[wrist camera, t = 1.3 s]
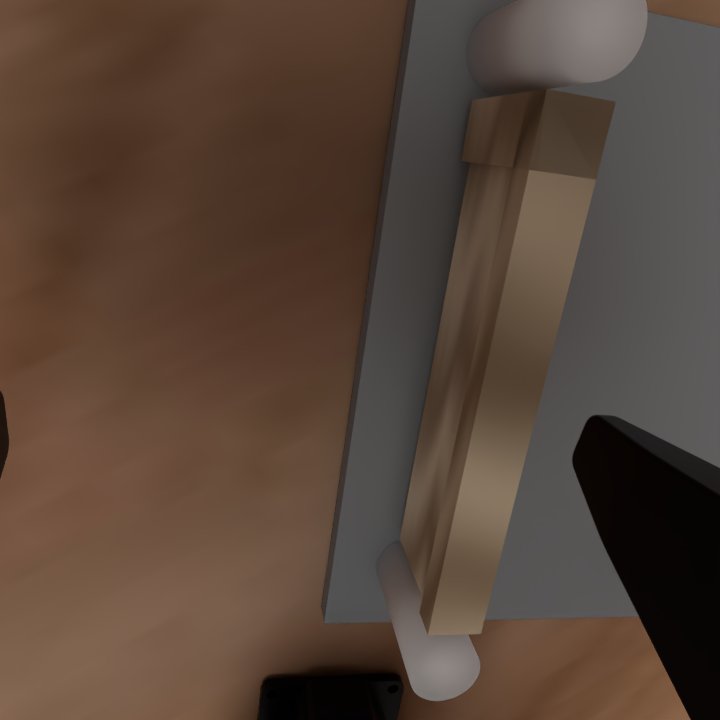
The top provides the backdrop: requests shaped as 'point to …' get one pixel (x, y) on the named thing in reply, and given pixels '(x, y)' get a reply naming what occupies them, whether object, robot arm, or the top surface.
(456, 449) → the light wood bar
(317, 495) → the top surface
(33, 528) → the top surface
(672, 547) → the robot arm
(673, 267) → the board
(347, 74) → the top surface
